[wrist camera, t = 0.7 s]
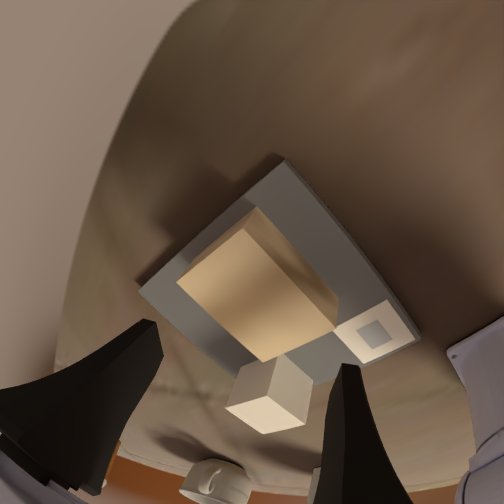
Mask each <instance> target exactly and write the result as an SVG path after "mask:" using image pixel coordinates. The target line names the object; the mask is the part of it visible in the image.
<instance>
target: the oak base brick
mask: <svg viewBox="0 0 504 504" xmlns="http://www.w3.org/2000/svg"><path fill="white" fill-rule="evenodd" d="M176 283H177V284H178V285H179V286H180V287H181V288H182V289H183V290H184V291H185V292H186V293H188V294H189V295H190V296H191V297H192V298H193V299H194V300H195V301H196V302H197V303H198V304H199V305H200V306H201V307H202V308H203V309H204V310H205V311H206V312H207V313H209V314H210V315H211V316H212V317H213V318H214V319H215V320H216V321H217V322H218V323H219V324H220V325H221V326H222V327H224V328H225V329H226V330H227V331H228V332H229V333H230V334H231V335H232V336H233V337H235V338H236V339H237V340H238V341H239V342H240V343H241V344H242V345H243V346H245V347H246V348H247V349H248V350H249V351H250V352H251V353H253V354H254V355H255V356H256V357H257V358H258V359H259V360H261V361H262V362H265V361H268V360H270V359H272V358H275V357H277V356H279V355H282V354H284V353H286V352H288V351H291V350H293V349H295V348H297V347H299V346H302V345H304V344H306V343H308V342H310V341H312V340H314V339H316V338H319V337H321V336H323V335H325V334H327V333H329V332H331V331H333V330H335V329H336V328H337V314H338V297H337V295H336V294H335V293H334V292H333V291H332V290H331V289H330V287H329V286H328V285H327V284H326V283H325V282H324V281H323V279H322V278H321V277H320V276H319V275H318V274H317V273H316V271H315V270H314V269H313V268H312V267H311V266H310V265H309V263H308V262H307V261H306V260H305V259H304V258H303V257H302V256H301V254H300V253H299V252H298V251H297V250H296V249H295V248H294V247H293V245H292V244H291V243H290V242H289V241H288V240H287V239H286V238H285V237H284V235H283V234H282V233H281V232H280V231H279V230H278V229H277V228H276V227H275V226H274V224H273V223H272V222H271V221H270V220H269V219H268V218H267V217H266V216H265V215H264V213H263V212H262V211H261V210H260V209H259V208H258V207H255V208H254V209H253V210H252V211H250V212H249V213H248V214H247V215H246V216H244V217H243V218H242V219H241V220H240V221H238V222H237V223H236V224H235V225H233V226H232V227H231V228H230V229H229V230H227V231H226V232H225V233H224V234H223V235H221V236H220V237H219V238H218V239H217V240H215V241H214V242H213V243H212V244H211V245H209V246H208V247H207V248H206V249H205V250H204V251H202V252H201V253H200V254H199V255H198V256H196V257H195V258H194V260H193V261H192V262H191V264H190V265H189V266H188V267H187V269H186V270H185V271H184V273H183V274H182V275H181V276H180V278H179V279H178V280H177V282H176Z"/></svg>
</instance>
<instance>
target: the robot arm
mask: <svg viewBox="0 0 504 504" xmlns="http://www.w3.org/2000/svg"><path fill="white" fill-rule="evenodd" d="M163 356H164V355H163V350H162V346H161V342H160V338H159V333H158V329H157V324H156V322H154V321H150V320H147V319H144V318H143V319H142V320H140V321H139V322H137V323H136V324H134V325H133V326H132V327H130V328H129V329H127V330H126V331H124V332H123V333H122V334H120V335H119V336H117V337H116V338H114V339H113V340H111V341H110V342H108V343H107V344H106V345H104V346H103V347H101V348H100V349H98V350H96V351H95V352H93V353H91V354H90V355H88V356H87V357H85V358H83V359H82V360H80V361H78V362H76V363H75V364H73V365H71V366H69V367H67V368H65V369H63V370H61V371H58V372H56V373H54V374H51V375H49V376H46V377H44V378H41V379H39V380H36V381H33V382H30V383H26V384H23V385H19V386H15V387H10V388H5V389H1V390H0V432H1V433H2V434H1V436H0V504H88V503H86V502H85V501H83V500H81V499H80V498H78V497H77V496H75V495H73V494H72V493H70V492H69V491H68V489H69V488H70V487H71V488H73V489H74V490H75V491H77V490H78V489H79V488H80V489H82V490H84V491H85V492H87V493H88V494H90V495H92V496H96V495H99V494H100V493H101V489H102V486H103V482H104V479H105V475H106V472H107V469H108V466H109V463H110V461H111V458H112V455H113V453H114V450H115V448H116V445H117V443H118V440H119V438H120V436H121V434H122V431H123V429H124V427H125V425H126V423H127V421H128V419H129V417H130V416H131V414H132V412H133V411H134V409H135V408H136V406H137V404H138V403H139V401H140V400H141V398H142V396H143V395H144V393H145V392H146V390H147V388H148V387H149V385H150V383H151V382H152V380H153V378H154V377H155V375H156V372H157V370H158V368H159V366H160V363H161V361H162V359H163ZM447 356H448V358H449V360H450V361H451V363H452V365H453V367H454V368H455V370H456V372H457V374H458V376H459V377H460V379H461V381H462V383H463V385H464V387H465V389H466V392H467V397H468V402H469V408H470V413H471V419H472V425H473V431H474V438H475V445H476V454H475V455H474V456H473V457H471V458H469V469H470V470H469V471H467V472H466V473H465V474H464V475H463V477H462V478H461V480H460V482H459V485H458V488H457V493H456V497H455V504H504V316H503V317H501V318H500V319H498V320H497V321H495V322H493V323H492V324H490V325H488V326H487V327H485V328H483V329H482V330H480V331H478V332H477V333H475V334H473V335H471V336H470V337H468V338H466V339H464V340H463V341H461V342H459V343H457V344H455V345H453V346H451V347H450V348H448V350H447ZM313 504H413V502H412V501H411V499H410V498H409V496H408V494H407V492H406V491H405V489H404V487H403V485H402V484H401V482H400V480H399V478H398V477H397V475H396V473H395V471H394V469H393V467H392V464H391V462H390V460H389V458H388V456H387V454H386V451H385V449H384V446H383V444H382V441H381V439H380V436H379V433H378V431H377V428H376V425H375V422H374V419H373V416H372V413H371V410H370V406H369V403H368V400H367V396H366V392H365V388H364V384H363V380H362V375H361V370H360V367H359V366H358V365H354V364H347V363H342V364H341V366H340V369H339V372H338V374H337V377H336V380H335V382H334V385H333V387H332V390H331V392H330V395H329V401H328V407H327V412H326V418H325V429H324V440H323V451H322V461H321V470H320V476H319V481H318V485H317V490H316V494H315V498H314V501H313Z"/></svg>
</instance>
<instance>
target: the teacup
mask: <svg viewBox="0 0 504 504" xmlns="http://www.w3.org/2000/svg"><path fill="white" fill-rule="evenodd" d="M251 489H252V482H251V480H250V478H249V477H248V476H247V474H246V472H245V471H244V470H243V469H242V468H240V467H239V466H237V465H234V464H232V463H229V462H226V461H223V460H219V459H213V458H212V459H207V460H204V461H199V462H197V463H196V464H195V465H194V466H193V467H192V468H191V470H190V471H189V473H188V475H187V477H186V479H185V481H184V483H183V484H182V486H181V488H180V489H179V492H180V493H181V494H183V495H184V496H186V497H188V498H190V499H191V500H193V501H195V502H198V503H200V504H247V502H248V499H249V496H250V493H251Z"/></svg>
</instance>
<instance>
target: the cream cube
mask: <svg viewBox="0 0 504 504" xmlns="http://www.w3.org/2000/svg"><path fill="white" fill-rule="evenodd" d="M312 385H313V380H312V379H311V378H310V377H309V376H308V375H306V374H305V373H304V372H303V371H302V370H301V369H300V368H299V367H298V366H296V365H295V364H294V363H293V362H292V361H291V360H290V359H289V358H288V357H286V356H285V355H284V354H282V355H279V356H277V357H275V358H272V359H270V360H268V361H265V362H262V361H261V360H256V361H254V362H252V363H249V364H247V365H244V366H242V367H241V368H240V370H239V373H238V376H237V378H236V381H235V383H234V386H233V389H232V391H231V394H230V396H229V399H228V402H227V404H226V407H225V409H227V410H228V411H230V412H231V413H232V414H234V415H235V416H237V417H238V418H240V419H241V420H242V421H244V422H245V423H247V424H248V425H250V426H251V427H253V428H254V429H256V430H257V431H259V432H260V433H262V434H267V433H271V432H276V431H280V430H285V429H289V428H293V427H297V426H301V425H305V424H306V419H307V413H308V408H309V402H310V397H311V391H312Z"/></svg>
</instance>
